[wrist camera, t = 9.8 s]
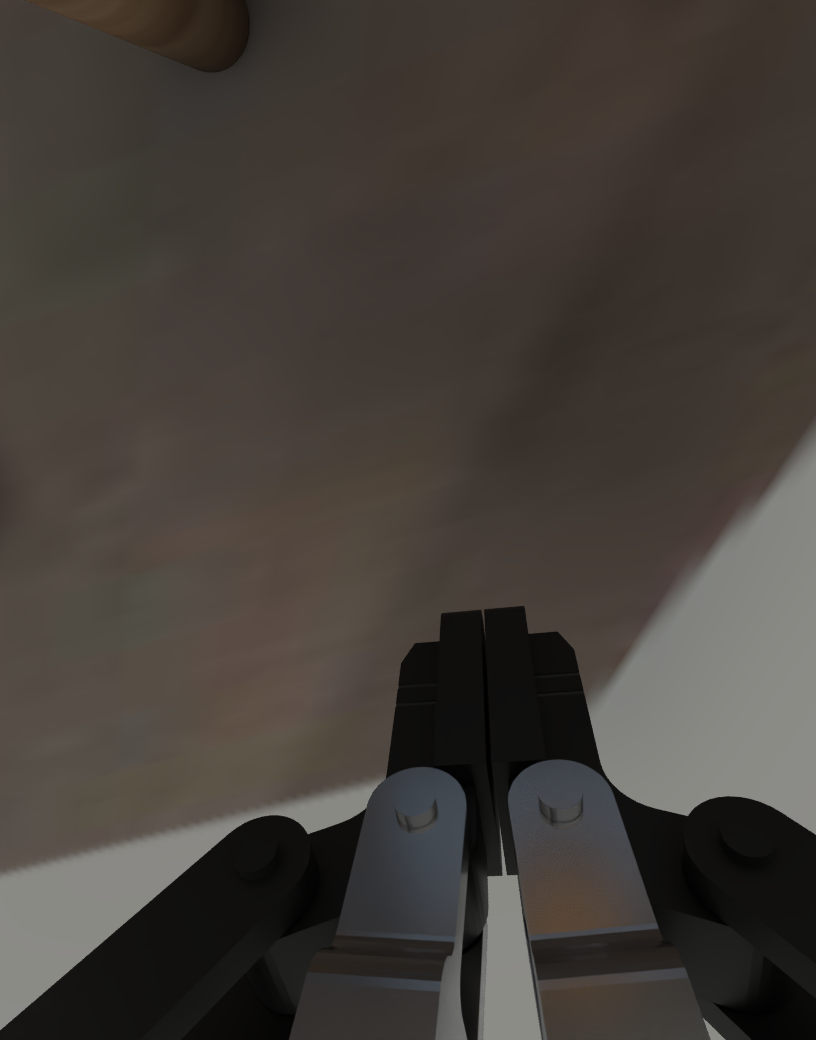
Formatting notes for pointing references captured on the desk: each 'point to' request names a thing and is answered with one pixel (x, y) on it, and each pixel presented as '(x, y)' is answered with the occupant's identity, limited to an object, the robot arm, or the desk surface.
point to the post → (168, 26)
